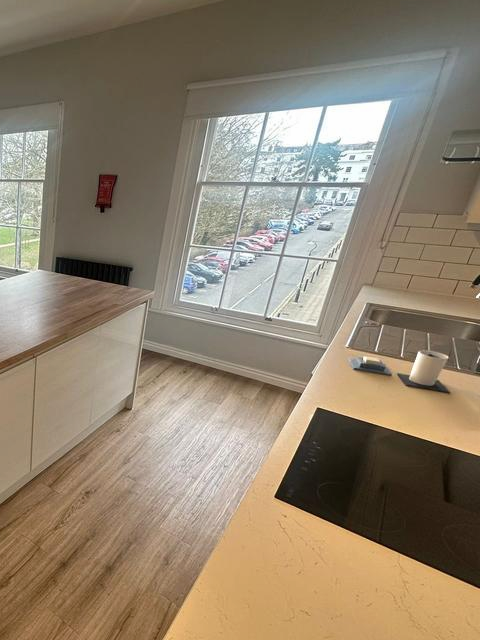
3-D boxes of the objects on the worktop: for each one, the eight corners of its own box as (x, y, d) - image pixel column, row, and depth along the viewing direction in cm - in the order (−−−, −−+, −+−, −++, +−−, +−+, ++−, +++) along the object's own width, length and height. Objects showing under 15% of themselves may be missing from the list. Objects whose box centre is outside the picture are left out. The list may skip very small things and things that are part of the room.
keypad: (383, 365, 146) (386, 359, 145) (391, 376, 139) (393, 370, 138) (347, 360, 152) (349, 354, 151) (353, 369, 144) (355, 363, 143)
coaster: (437, 381, 135) (438, 379, 134) (449, 393, 127) (450, 392, 127) (396, 374, 140) (397, 373, 140) (405, 386, 132) (406, 384, 132)
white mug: (401, 377, 137) (412, 350, 133) (420, 376, 137) (432, 350, 133) (422, 386, 131) (434, 358, 127) (442, 385, 131) (455, 358, 127)
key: (376, 361, 145) (377, 358, 144) (378, 365, 142) (380, 361, 141) (362, 359, 147) (364, 356, 146) (365, 363, 144) (366, 359, 143)
